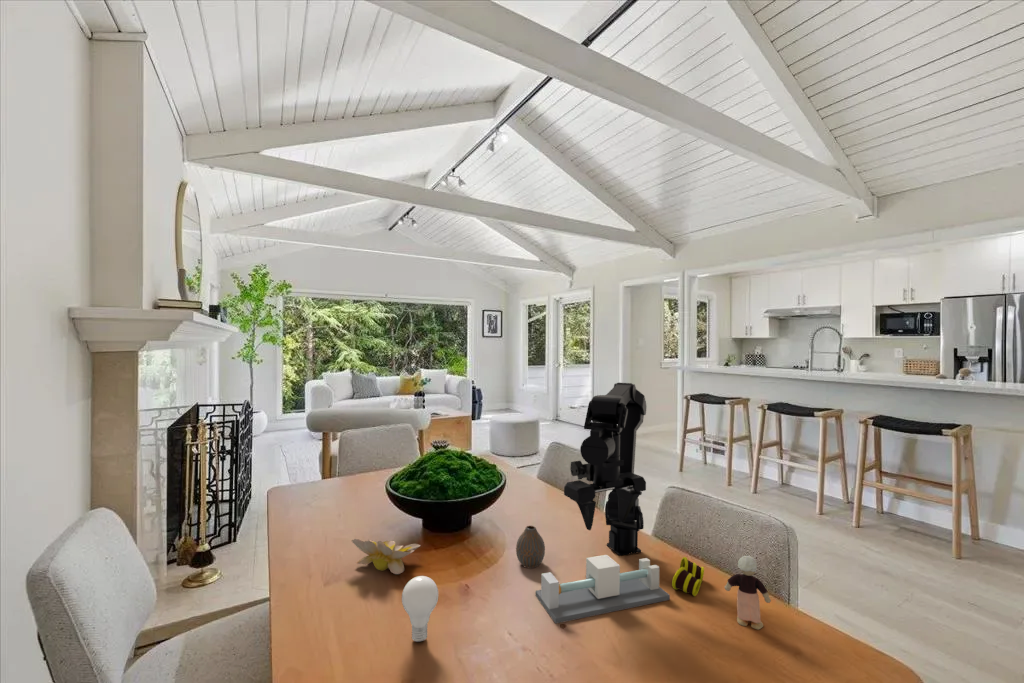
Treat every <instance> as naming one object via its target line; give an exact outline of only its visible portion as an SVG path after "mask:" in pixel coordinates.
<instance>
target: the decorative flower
mask: <svg viewBox="0 0 1024 683" xmlns="http://www.w3.org/2000/svg"><path fill="white" fill-rule="evenodd" d="M351 542H352V544H354V546H355V547H356V548H358V550H360V551H361V552H363V553H364V554H366V556H364V557H362V558H360V559H359V560H358V561H356V562H355V563H356V564H357V565H358V564H359V565H369V564H371V563H373V566H374V568H375V569H376V570H377V571H380V572H381V571H386V570H387V569H388V570H390V572H391V573H393V574H394V575H400V574H401V573H404V571H405V566H404V562H403V558H405V557H406V556H408V555H410V554H412V553H413V552H415V550H417V549H418V548H420V547H421V544H418V543H411V544H406V545H405V546H404V545H398V544H397V545H396V541H394V540H393V541H392V540H385V541H381V540H378V541H373V540H370V539H367V540H365V541H363V540H362V539H357V538H354V539H352V540H351Z"/></svg>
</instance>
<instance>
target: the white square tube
mask: <svg viewBox="0 0 1024 683" xmlns="http://www.w3.org/2000/svg"><path fill="white" fill-rule="evenodd" d="M585 562H586V563H585V579H591V578H594V579H595V587H591V588H588V589H589V590H590V591H591V592H592V593H593V594H594V595H595V596H596V597H597V598H598V599H600V598H605V597H610V596H615V595H619V587H620V573H621V570H620V568H621V565H620V564H619V563H618V562H616V560H614V559H613V558H611V556H609V555H608V554H603V555H597V556H589V557H586V558H585Z"/></svg>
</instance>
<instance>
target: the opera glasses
mask: <svg viewBox="0 0 1024 683" xmlns="http://www.w3.org/2000/svg"><path fill="white" fill-rule="evenodd" d="M704 575H705V567H703V566H700V565H699V564H698V565H697V563H696V562H694V561H690V560H689V559H688V558H687V556H684V557H682V558H681V561H680V563H679V568H678V569H677V570H676V572H675V574H674V575H673V577H672V580H671V581H672V582H671V586H672V589H673V590H675V591H677V590H681V591H683V593H686V594H687V593H688V594H692V596H693V597H696V596H697V595H698V594H699V591H700V588H701V585H702V583H703V578H704Z"/></svg>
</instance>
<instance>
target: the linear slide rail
mask: <svg viewBox="0 0 1024 683" xmlns="http://www.w3.org/2000/svg"><path fill="white" fill-rule="evenodd" d="M540 580H541V585H540V586H541V588H540V589H538V590H535V597H536V598H537V600H538V602H540V604H541V606H542V607H543V608H544V609H545V611H546V612H547V614H548V615H549V617H550V618H551V620H552V621H553V622H554V624H560V622H561V623H564V622H565V623H566V622H569V621H574V620H581V619H584V618H590V617H593V616H599V615H603V614H604V615H605V614H608V613H613V612H618V611H622V610H628V609H631V608H632V609H633V608H636V607H641V606H646V605H650V604H651V605H653V604H656V603H661V602H665V601H670V600H671V599H670V598H671V594H669V593H668V592H667V591H665V590H664V589H663V588H662V587H660V566H659V565H657V564H653V565H651V560H650V559H649V558H648V557H645V558H639V559H638V570H631V571H626V572H624V571H623V572H620V587H619V595H615V596H610V597H605V598H600V599H598V598H597V597H596V596H595V595H594V594H593V593H592V592H591V591H590V590H589V589H588V588H591V587H595V579H594V578H591V579H586V578H585V579H579V580H576V581H568V582H564V583H563V582H562V583H560V582H559V580H558V579H557V578H556V577H555V575H554V574H553V573H552V572H550V571H549V572H544V573H541V579H540Z"/></svg>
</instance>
